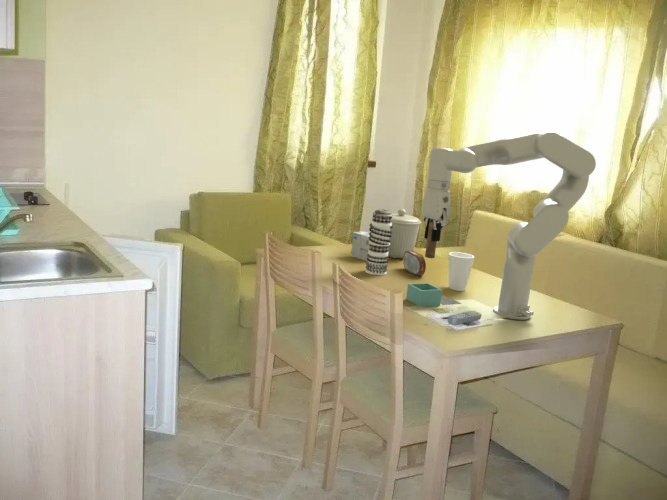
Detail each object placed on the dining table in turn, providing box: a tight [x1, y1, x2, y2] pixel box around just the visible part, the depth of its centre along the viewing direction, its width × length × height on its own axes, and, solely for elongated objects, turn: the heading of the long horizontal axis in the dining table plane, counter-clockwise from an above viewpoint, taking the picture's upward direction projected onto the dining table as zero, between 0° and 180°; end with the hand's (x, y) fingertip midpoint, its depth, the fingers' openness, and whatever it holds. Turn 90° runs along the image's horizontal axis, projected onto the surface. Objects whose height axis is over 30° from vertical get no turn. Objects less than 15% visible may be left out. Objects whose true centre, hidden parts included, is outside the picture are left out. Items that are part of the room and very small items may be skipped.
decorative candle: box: [365, 208, 393, 276], centre depth 272 cm, size 9×9×25 cm
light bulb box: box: [350, 231, 370, 262], centre depth 296 cm, size 11×7×11 cm, turn 43°
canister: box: [388, 208, 422, 259], centre depth 306 cm, size 18×18×21 cm
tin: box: [402, 250, 427, 276], centre depth 280 cm, size 15×3×8 cm, turn 22°
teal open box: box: [405, 282, 443, 307], centre depth 238 cm, size 8×8×6 cm
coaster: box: [440, 296, 463, 306], centre depth 243 cm, size 8×8×1 cm
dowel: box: [424, 221, 439, 259], centre depth 234 cm, size 3×3×12 cm
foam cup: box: [447, 251, 475, 292], centre depth 262 cm, size 10×9×13 cm
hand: (431, 239), depth 234 cm, fingers closed on dowel, 3 cm apart
